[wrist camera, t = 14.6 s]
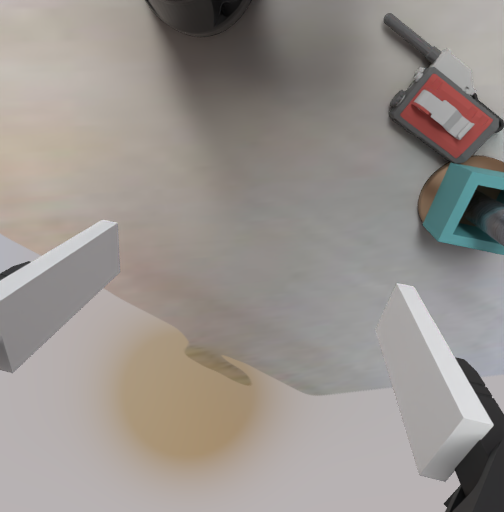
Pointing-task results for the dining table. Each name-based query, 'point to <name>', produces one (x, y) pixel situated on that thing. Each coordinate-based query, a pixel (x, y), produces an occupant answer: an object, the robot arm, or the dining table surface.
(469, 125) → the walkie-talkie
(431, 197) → the post base
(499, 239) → the post
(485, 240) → the collar
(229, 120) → the dining table surface
